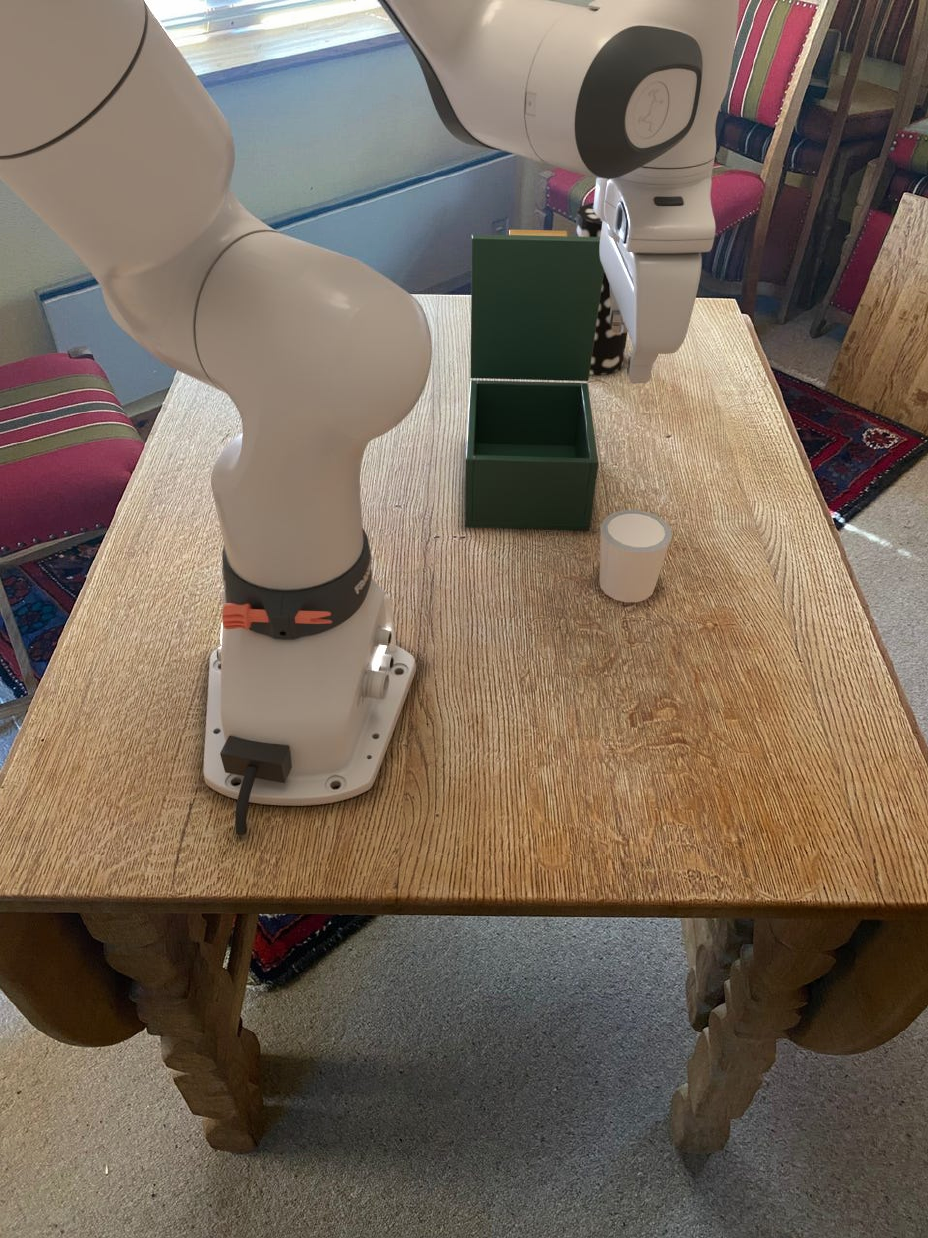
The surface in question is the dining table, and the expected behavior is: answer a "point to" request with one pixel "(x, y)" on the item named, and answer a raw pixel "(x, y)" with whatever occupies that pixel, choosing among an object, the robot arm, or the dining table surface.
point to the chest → (530, 456)
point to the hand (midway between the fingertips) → (628, 353)
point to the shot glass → (632, 554)
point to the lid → (534, 305)
